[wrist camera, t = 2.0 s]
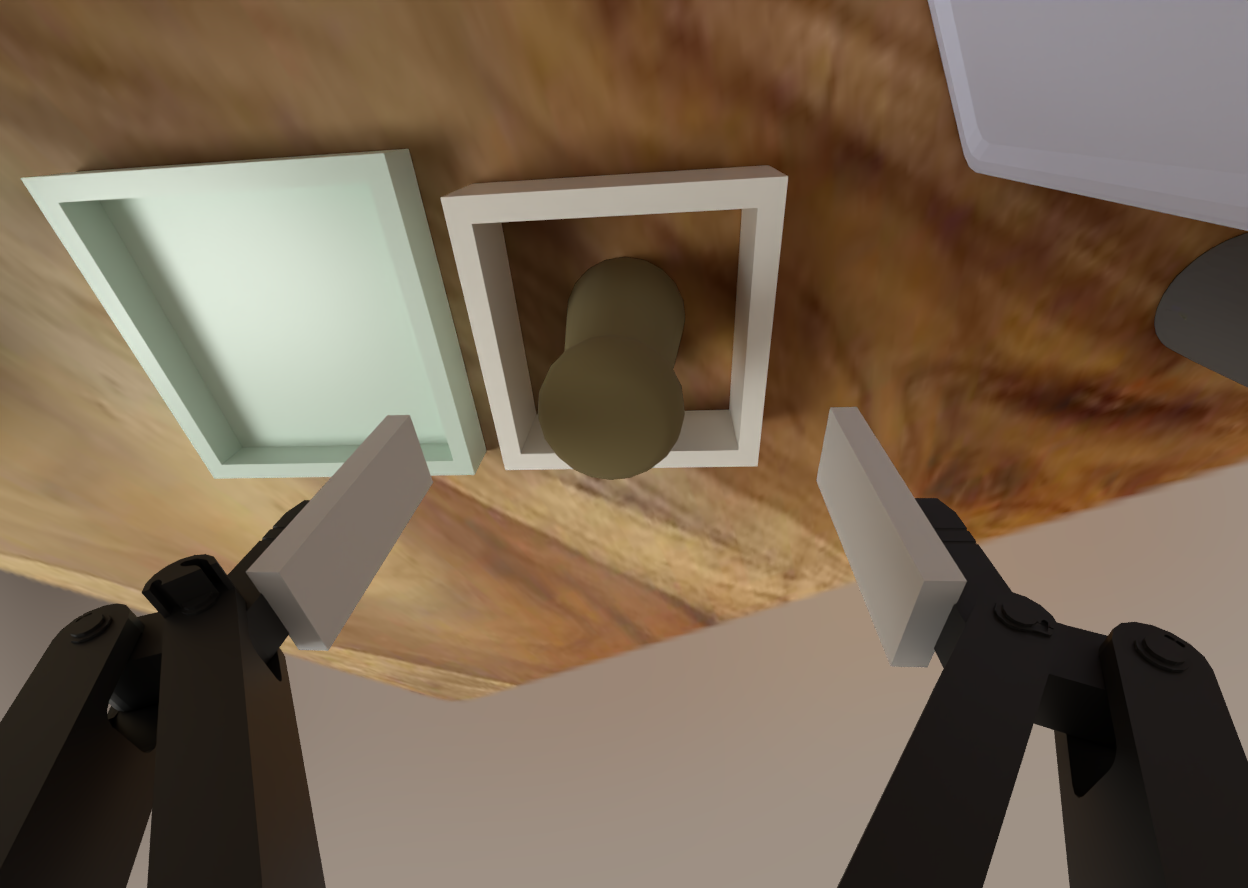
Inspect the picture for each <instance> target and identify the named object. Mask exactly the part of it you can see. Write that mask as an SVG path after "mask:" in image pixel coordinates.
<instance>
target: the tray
mask: <svg viewBox="0 0 1248 888" xmlns="http://www.w3.org/2000/svg"><path fill="white" fill-rule="evenodd" d="M21 180H22V181H23V183H24V184H25V186H26V188H27V189H28V191H29V192H30V194H31V195H32V197H33V198H34V200H35V202H36V203H37V205H38V206H39V208H40V209H41V211H42V212H43V214H44V215H45V217H46V219H47V220H48V222H49V223H50V225H51V226H52V228H53V229H54V231H55V232H56V234H57V236H58V237H59V239H60V240H61V242H62V243H63V245H64V246H65V248H66V250H67V251H68V253H69V254H70V256H71V257H72V259H73V260H74V262H75V263H76V265H77V267H78V268H79V270H80V271H81V273H82V274H83V276H84V277H85V279H86V280H87V282H88V284H89V285H90V287H91V288H92V290H93V291H94V293H95V294H96V296H97V298H98V299H99V301H100V302H101V304H102V305H103V307H104V308H105V310H106V311H107V313H108V315H109V316H110V318H111V319H112V321H113V322H114V324H115V325H116V327H117V328H118V330H119V332H120V333H121V335H122V336H123V338H124V339H125V341H126V342H127V344H128V346H129V347H130V349H131V350H132V352H133V353H134V355H135V356H136V358H137V359H138V361H139V363H140V364H141V366H142V367H143V369H144V370H145V372H146V373H147V375H148V376H149V378H150V380H151V381H152V383H153V384H154V386H155V387H156V389H157V390H158V392H159V394H160V395H161V397H162V398H163V400H164V401H165V403H166V404H167V406H168V407H169V409H170V411H171V412H172V414H173V415H174V417H175V418H176V420H177V421H178V423H179V424H180V426H181V428H182V429H183V431H184V432H185V434H186V435H187V437H188V438H189V440H190V442H191V443H192V445H193V446H194V448H195V449H196V451H197V452H198V454H199V455H200V457H201V459H202V460H203V462H204V463H205V465H206V466H207V468H208V469H209V471H210V472H211V474H212V476H213V477H214V479H216V478H286V477H332V476H333V475H334V474H335V473H336V471H337V470H338V469H339V468H340V467H341V466H342V465H343V464H344V463H345V461H346V460H347V459H348V458H349V457H350V456H351V455H352V454H353V453H354V452H355V450H356V449H357V448H358V447H359V446H360V445H361V444H362V443H363V442H364V440H365V439H366V438H367V437H368V436H369V435H370V434H371V433H372V432H373V431H374V429H375V428H376V427H377V426H378V425H379V424H380V423H381V422H382V421H383V419H384V418H385V417H386V416H387V415H410V417H411V419H412V422H413V425H414V428H415V431H416V434H417V437H418V440H419V443H420V446H421V449H422V452H423V455H424V458H425V460H426V463H427V466H428V469H429V472H430V475H475V473H476V471H477V469H478V467H479V465H480V463H481V461H482V459H483V457H484V455H485V453H486V447H485V443H484V439H483V435H482V431H481V427H480V423H479V420H478V416H477V412H476V408H475V404H474V400H473V396H472V392H471V389H470V385H469V381H468V377H467V373H466V369H465V365H464V361H463V358H462V354H461V350H460V346H459V342H458V338H457V334H456V330H455V327H454V323H453V319H452V315H451V311H450V307H449V303H448V299H447V296H446V292H445V288H444V284H443V280H442V276H441V272H440V268H439V265H438V261H437V257H436V253H435V249H434V245H433V241H432V237H431V234H430V230H429V226H428V222H427V218H426V214H425V210H424V206H423V203H422V199H421V195H420V191H419V187H418V183H417V179H416V175H415V171H414V168H413V164H412V160H411V156H410V152H409V149H397V150H383V151H368V152H354V153H339V154H325V155H310V156H296V157H282V158H267V159H253V160H238V161H224V162H209V163H195V164H180V165H166V166H151V167H137V168H122V169H108V170H93V171H79V172H69V173H60V174H51V175H43V176H34V177H25V178H21Z"/></svg>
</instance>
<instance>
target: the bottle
mask: <svg viewBox="0 0 1248 888" xmlns="http://www.w3.org/2000/svg"><path fill="white" fill-rule="evenodd" d="M1154 325H1155V330H1156V334H1157V336H1158V338H1159V339H1160V341H1161V342H1162V343H1163V344H1164V345H1165V346H1166V347H1168V348H1170V349H1171V350H1173V351H1175V352H1177V353H1179V354H1181V355H1183V356H1184V357H1186V358H1188V359H1190V360H1192V361H1194V362H1196V363H1198V364H1200V365H1202V366H1204V367H1206V368H1208V369H1211V370H1213V371H1215V372H1217V373H1219V374H1221V375H1223V376H1225V377H1227V378H1229V379H1231V380H1233V381H1235V382H1237V383H1240V384H1242V385H1244V386H1246V387H1248V233H1246V234H1243V235H1240V236H1238V237H1235V238H1232V239H1229V240H1227V241H1225V242H1223V243H1221V244H1219V245H1217V246H1216V247H1214V248H1212V249H1211V250H1209V251H1207V252H1206V253H1204V254H1203V255H1201V256H1200V257H1198V258H1197V259H1196V260H1195V261H1193V262H1192V263H1191V264H1190V265H1189V266H1188V267H1187V268H1186V269H1185V270H1183V271H1182V272H1181V273H1180V274H1179V275H1178V276H1177V277H1176V278H1175V280H1174V281H1173V282H1172V283H1171V284H1170V286H1169V287H1168V289H1167V290H1166V292H1165V293H1164V295H1163V297H1162V299H1161V301H1160V303H1159V305H1158V307H1157V311H1156V315H1155V323H1154Z"/></svg>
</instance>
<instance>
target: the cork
mask: <svg viewBox="0 0 1248 888" xmlns="http://www.w3.org/2000/svg"><path fill="white" fill-rule="evenodd" d="M684 322H685V311H684V303H683V299H682V297H681V294H680V292H679V290H678V288H677V286H676V284H675V282H674V281H673V280H672V279H671V278H670V277H669V276H668V275H667V274H666V273H665V272H664V271H663V270H662V269H661V268H659V267H657V266H655V265H653V264H651V263H649V262H647V261H645V260H642V259H635V258H629V257H620V258H614V259H609V260H604V261H603V262H601V263H599V264H597V265H595V266H593V267H591V268H590V269H588V270H587V271H586V272H585V273H584V274H583V276H582V277H581V278H580V279H579V280H578V281H577V282H576V283H575V285H574V288H573V290H572V292H571V295H570V297H569V299H568V309H567V322H566V337H565V352H564V353H563V354H562V355H561V356H560V357H559V358H558V359H557V360H556V361H555V362H554V363H553V364H552V365H551V366H550V369H549V371H548V373H547V375H546V377H545V380H544V382H543V384H542V386H541V389H540V391H539V402H538V418H539V423H540V426H541V429H542V432H543V436H544V439H545V440H546V441H547V443H548V444H549V445H550V447H551V448H552V450H553V451H554V452H555V454H556V455H557V456H558V457H559V458H560V459H561V460H562V461H564V462H565V463H566V464H567V465H569V466H570V467H571V468H573V469H574V470H576V471H578V472H581V473H583V474H586V475H588V476H590V477H595V478H602V479H608V480H614V479H623V478H630V477H633V476H635V475H638V474H641V473H643V472H646V471H648V470H649V469H651V468H652V467H654V466H655V465H656V464H658V463H659V462H660V461H662V460H663V459H664V458H665V457H667V455H668V454H669V452H670V451H671V449H672V448H673V446H674V445H675V443H676V442H677V440H678V438H679V435H680V432H681V428H682V424H683V420H684V416H685V410H684V402H683V394H682V386H681V384H680V382H679V380H678V378H677V376H676V374H675V372H674V370H673V368H674V364H675V360H676V356H677V352H678V348H679V344H680V340H681V336H682V331H683V327H684Z"/></svg>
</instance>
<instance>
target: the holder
mask: <svg viewBox="0 0 1248 888" xmlns="http://www.w3.org/2000/svg"><path fill="white" fill-rule="evenodd" d="M787 184H788V176H787V175H785V174H783V173H782V172H780V171H778V170H776V169H774V168H773V167H771V166H769V165H763V166H747V167H731V168H715V169H699V170H683V171H667V172H651V173H635V174H619V175H603V176H587V177H571V178H555V179H539V180H523V181H507V182H491V183H475V184H470V185H468V186H466V187H463V188H461V189H459V190H456V191H454V192H452V193H449V194H447V195H445V196H442V197H440V198H441V203H442V207H443V211H444V215H445V219H446V224H447V228H448V232H449V236H450V240H451V244H452V249H453V253H454V257H455V261H456V265H457V270H458V274H459V278H460V282H461V286H462V290H463V295H464V299H465V303H466V307H467V311H468V316H469V320H470V324H471V328H472V332H473V337H474V341H475V345H476V349H477V353H478V357H479V362H480V366H481V370H482V374H483V378H484V383H485V387H486V391H487V395H488V399H489V404H490V408H491V412H492V416H493V420H494V424H495V429H496V433H497V437H498V441H499V445H500V450H501V454H502V458H503V462H504V466H505V470H536V469H573V468H571V467H570V466H569V465H567V464H566V463H565V462H564V461H562V460H561V459H560V458H559V457H558V456H557V455H556V454H555V452H554V451H553V450H552V448H551V447H550V445H549V444H548V443H547V441H546V440H545V439H544V436H543V432H542V429H541V426H540V423H539V418H538V414H536V409H535V404H534V398H533V393H532V387H531V382H530V376H529V371H528V366H527V360H526V355H525V349H524V344H523V338H522V333H521V327H520V322H519V316H518V311H517V305H516V300H515V294H514V289H513V283H512V278H511V272H510V267H509V261H508V256H507V250H506V245H505V239H504V234H503V228H502V223H501V222H516V221H534V220H551V219H569V218H587V217H605V216H623V215H641V214H659V213H677V212H695V211H712V210H730V209H742V216H741V231H740V247H739V263H738V279H737V295H736V311H735V326H734V342H733V358H732V374H731V390H730V406H729V410H695V411H685V416H684V420H683V424H682V428H681V432H680V435H679V438H678V440H677V442H676V443H675V445H674V446H673V448H672V449H671V451H670V452H669V454H668V455H667V457H665V458H664V459H663V460H662V461H660V462H659V463H658V464H656V465H655V466H654V467H652V468H670V467H737V466H758V456H759V447H760V438H761V428H762V419H763V409H764V400H765V391H766V381H767V372H768V362H769V353H770V344H771V334H772V325H773V315H774V306H775V297H776V287H777V278H778V268H779V259H780V250H781V240H782V231H783V222H784V212H785V203H786V193H787Z"/></svg>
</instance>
